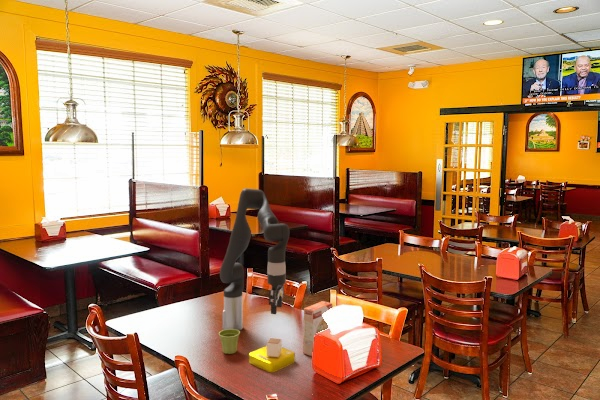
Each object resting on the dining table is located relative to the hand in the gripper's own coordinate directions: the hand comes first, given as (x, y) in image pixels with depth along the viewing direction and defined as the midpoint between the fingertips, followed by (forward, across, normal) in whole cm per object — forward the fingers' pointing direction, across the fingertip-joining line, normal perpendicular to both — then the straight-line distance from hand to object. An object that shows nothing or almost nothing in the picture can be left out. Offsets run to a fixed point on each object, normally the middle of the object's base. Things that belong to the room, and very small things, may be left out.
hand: (276, 310), depth 201 cm
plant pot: (+24, -8, -24) cm, 35 cm away
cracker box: (+24, -18, +14) cm, 33 cm away
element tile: (+24, -2, -3) cm, 25 cm away
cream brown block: (+19, -1, -1) cm, 19 cm away
